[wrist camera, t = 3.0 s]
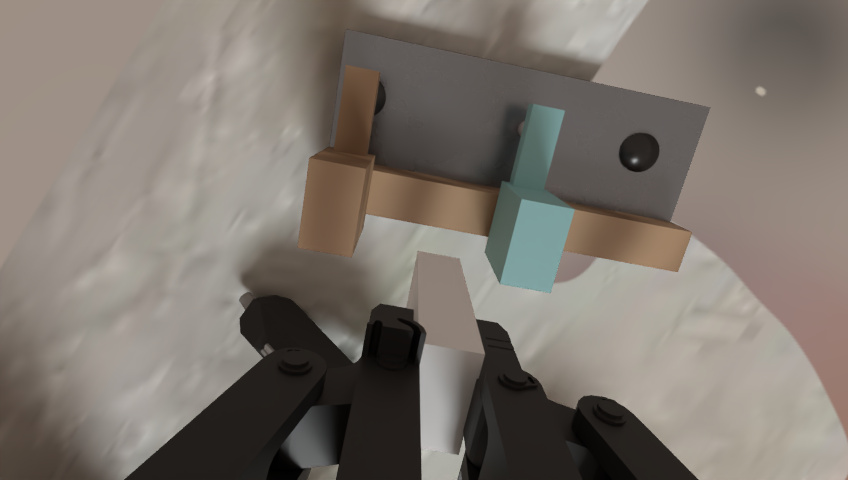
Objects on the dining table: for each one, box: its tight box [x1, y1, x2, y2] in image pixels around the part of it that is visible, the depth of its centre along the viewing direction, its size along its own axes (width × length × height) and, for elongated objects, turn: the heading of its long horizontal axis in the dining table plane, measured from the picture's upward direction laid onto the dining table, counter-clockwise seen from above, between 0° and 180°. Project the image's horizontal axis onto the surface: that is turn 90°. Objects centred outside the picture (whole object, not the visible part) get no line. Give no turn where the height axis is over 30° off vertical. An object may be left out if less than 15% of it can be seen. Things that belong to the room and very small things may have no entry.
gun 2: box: [239, 292, 353, 368], centre depth 37 cm, size 3×16×10 cm, turn 53°
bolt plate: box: [329, 29, 710, 222], centre depth 35 cm, size 26×12×1 cm, turn 79°
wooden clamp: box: [298, 65, 692, 272], centre depth 30 cm, size 26×10×9 cm, turn 79°
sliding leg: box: [485, 104, 575, 293], centre depth 30 cm, size 3×10×9 cm, turn 169°
